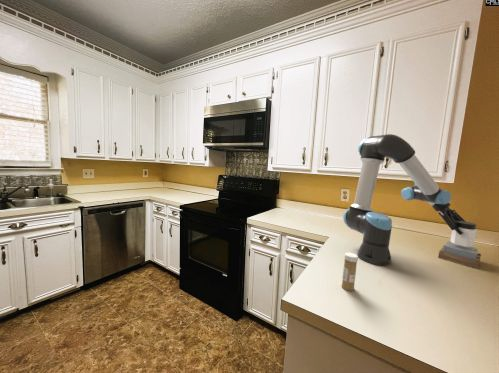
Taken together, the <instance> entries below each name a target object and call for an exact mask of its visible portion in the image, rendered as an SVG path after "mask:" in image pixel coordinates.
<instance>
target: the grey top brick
mask: <svg viewBox="0 0 499 373" xmlns="http://www.w3.org/2000/svg"><path fill="white" fill-rule="evenodd" d="M444 245H445V246H444ZM444 245H443V246H444V251H443V252H445V253H449V254H453V255H456V256H460V257H464V258H468V259H471V260H475V259H476V256H477V253H478V250H479V248H477V247H474V246H473V247H464V246H460V245H456V244H454V243H452V242H451V241H447V242H446V243H445V244H444Z"/></svg>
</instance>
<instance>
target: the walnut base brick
mask: <svg viewBox="0 0 499 373" xmlns="http://www.w3.org/2000/svg"><path fill="white" fill-rule="evenodd" d="M444 246H445V244H443V246H442V248H441V249H439V251H438V256H437V258H438V259H441V260H445V261H448V262H451V263H455V264H459V265H462V266H466V267H470V268H473V269H477V270H478V269H479V266H480V264H481V263H480V262H481V258H482V254H481V253H480V252H477V256H476V259H475V260H471V259H468V258H464V257H460V256H456V255H453V254H449V253H445V252H443V251H444Z"/></svg>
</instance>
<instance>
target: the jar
mask: <svg viewBox="0 0 499 373" xmlns="http://www.w3.org/2000/svg"><path fill="white" fill-rule="evenodd" d="M465 221H466V220H465ZM465 221H455V222H456V223H457V225H458V226H459V228H460V227H461V228H462V230H463V231H464V232H465V233H466V234H467V235H468V236H469V237H470V238H471V239H469V240H466V241H464V240H463V239H462V238H461V237H460V235H459V234H458V233H457V232H456V231H455V229H454V230H451V235H450V241H449V242H452V243H454V244H456V245H460V246H464V247H473V248H474V245H475V242H476V241H475V240H476V238H475V235H477V229H476V228H477V223H473V222H469V221H466V222H465Z"/></svg>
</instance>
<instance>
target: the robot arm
mask: <svg viewBox="0 0 499 373" xmlns="http://www.w3.org/2000/svg"><path fill="white" fill-rule="evenodd" d="M357 148H358V149H357V151H358V154H359V155H360V161H361V162H362V163H361V164H362V165H361V168H360V172H359V177H358V182H357V186H356V192H355V196H354V201H353V203H352V204H350V206H349V208H347V209H346V210H345V211H344V213H343V217H342V218H343V222H344V224H345V225H346V227H348V228H349V229H351V230H353V231H356V232H358V233H361V234H362V235H363V236H362V242H361V244H360V246H359V248H358V249H357V254H356V255H357V256H358V259H361V260H362V261H364V262H366V263H369V264H372V265H377V266H389V265H391V264H392V256H391V252H390V240H391V235H392V234H391V233H392V228H393V225H392V224H393V220H392V219H391V217H389V216H388V215H386V214H385V213H380V212H375V211H374V210H373V208H372V207H371V206H372V201H373V197H374V191H375V188H376V183H377V180H378V175H379V170H380V167H381V164H383V163H384V162H385V159H386V158H388V159H391V160H392V161H393V162H394V163H395V164H399V165H400V167H401V168H402V170H404V172H405V173H406V174H407V176H408V177H409V178H410V179H411V180H412V182H413V183H414V185H412V186H407V187H405V188H403V189H401V191H400V195H401V197H402V198H403V200H406V201H412V200H417V201H421V202H427V204H429V205H430V206H431V207H432V209H434V211H435V212H437V213H438V215H439V216H440V217H441V218H442V219H443V220H444V222H445V223H446V225H447V226H448V227H449V229H451V231H452V230H454V229H455V231H456V232H457V233H458V234H459V235H460V237H461V238H462V239H463V240H464V241H466V240H469V239H471V238H470V237H469V236H468V235H467V234H466V233H465V232H464V231H463V230H462V228H461V227H460V228H459V226H458V225H457V223H456V222H455V221H465V222H467V221H466V220H465V219H464V218H463V217H462V216H461V215H460V214H459V213H458V212H457V211H456V210H455V209H451V208H450V206H451V203H450V201H451V200H452V194H451V192H450V191H449V190H445V189H441V187H440V186H439V185H438V184H437V182H436V180H434V178H433V177H432V175H431V174H430V173H429V172H428V170H427V169H426V167H424V165H423V163H421V161H420V159H419V158H418V157H417V156H416V150H415V149H414V148H413V146H412V145H411V144H410V143H409V142H408V141H406V140H405V139H404V138H402V137H401V136H398V135H396V134H392V133H391V134H390V133H387V134H383V135H381V134H380V135H372V136H369V137H365V138H363V139H362V140H361V141H360V142H359V145H358V147H357ZM477 238H479V236H478V235H477V234H476V235H475V239H477Z"/></svg>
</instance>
